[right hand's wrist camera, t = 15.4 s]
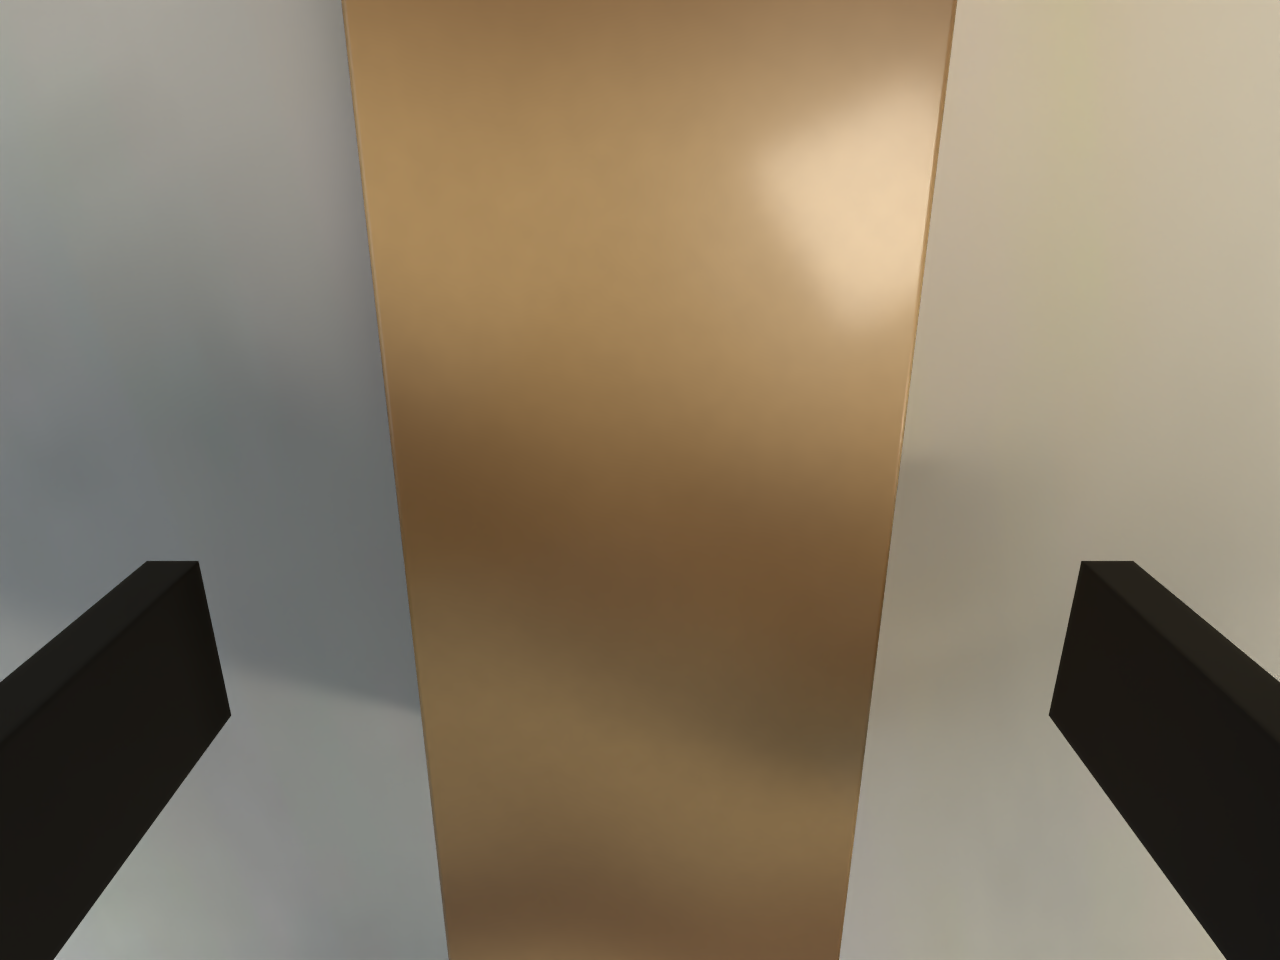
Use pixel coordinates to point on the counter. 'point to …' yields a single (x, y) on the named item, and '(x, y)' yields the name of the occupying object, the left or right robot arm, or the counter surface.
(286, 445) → the counter surface
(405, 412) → the bar
